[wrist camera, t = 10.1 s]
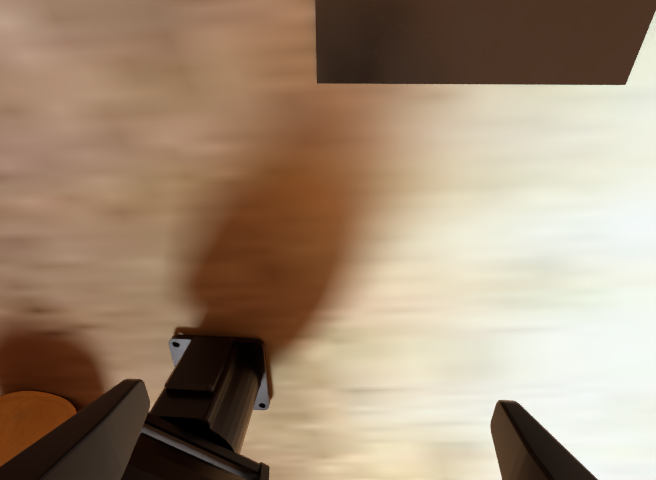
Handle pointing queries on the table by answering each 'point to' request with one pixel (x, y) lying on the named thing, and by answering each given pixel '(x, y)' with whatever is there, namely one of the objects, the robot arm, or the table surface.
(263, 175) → the table surface
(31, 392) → the log
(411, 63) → the dock
